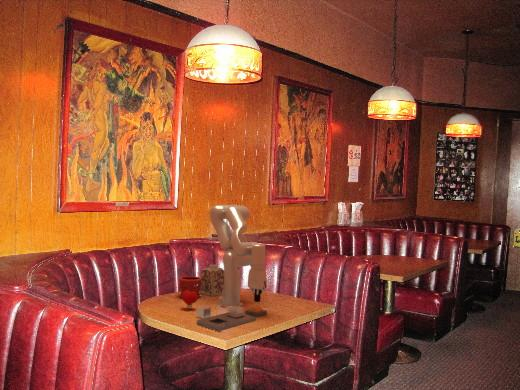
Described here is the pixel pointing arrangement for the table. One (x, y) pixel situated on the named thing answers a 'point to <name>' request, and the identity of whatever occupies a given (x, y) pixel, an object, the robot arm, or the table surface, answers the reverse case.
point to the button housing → (256, 313)
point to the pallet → (224, 321)
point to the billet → (203, 312)
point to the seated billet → (236, 312)
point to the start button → (256, 308)
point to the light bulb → (189, 298)
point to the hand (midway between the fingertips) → (257, 301)
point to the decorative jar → (212, 281)
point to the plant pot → (190, 284)
